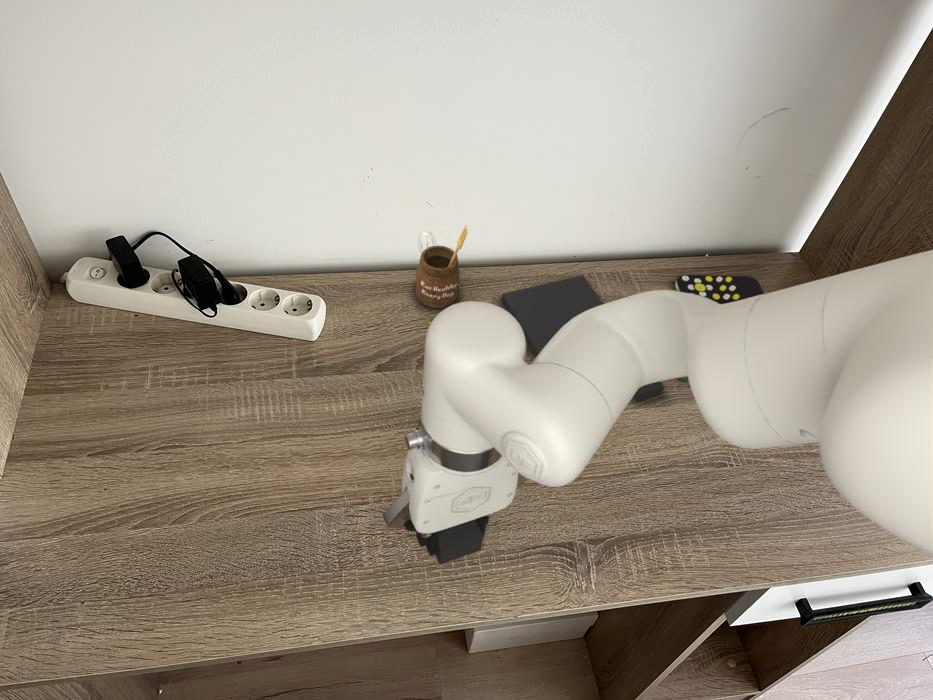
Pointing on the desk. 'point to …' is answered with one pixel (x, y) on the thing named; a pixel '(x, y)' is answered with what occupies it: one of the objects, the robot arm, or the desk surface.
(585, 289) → the big pad
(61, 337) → the desk surface
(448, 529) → the small black box
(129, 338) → the desk surface
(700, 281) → the remote control
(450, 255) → the utensil holder
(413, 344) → the desk surface
